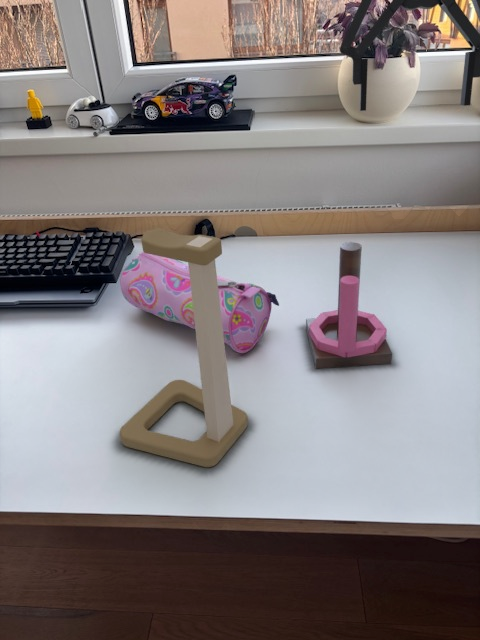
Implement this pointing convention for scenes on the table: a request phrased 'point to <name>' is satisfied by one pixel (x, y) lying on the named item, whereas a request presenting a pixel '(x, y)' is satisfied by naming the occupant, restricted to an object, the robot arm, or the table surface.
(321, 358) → the stand
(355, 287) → the pink ring with handle
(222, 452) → the headphone stand
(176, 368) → the table surface
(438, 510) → the table surface
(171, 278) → the pencil case
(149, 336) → the table surface
